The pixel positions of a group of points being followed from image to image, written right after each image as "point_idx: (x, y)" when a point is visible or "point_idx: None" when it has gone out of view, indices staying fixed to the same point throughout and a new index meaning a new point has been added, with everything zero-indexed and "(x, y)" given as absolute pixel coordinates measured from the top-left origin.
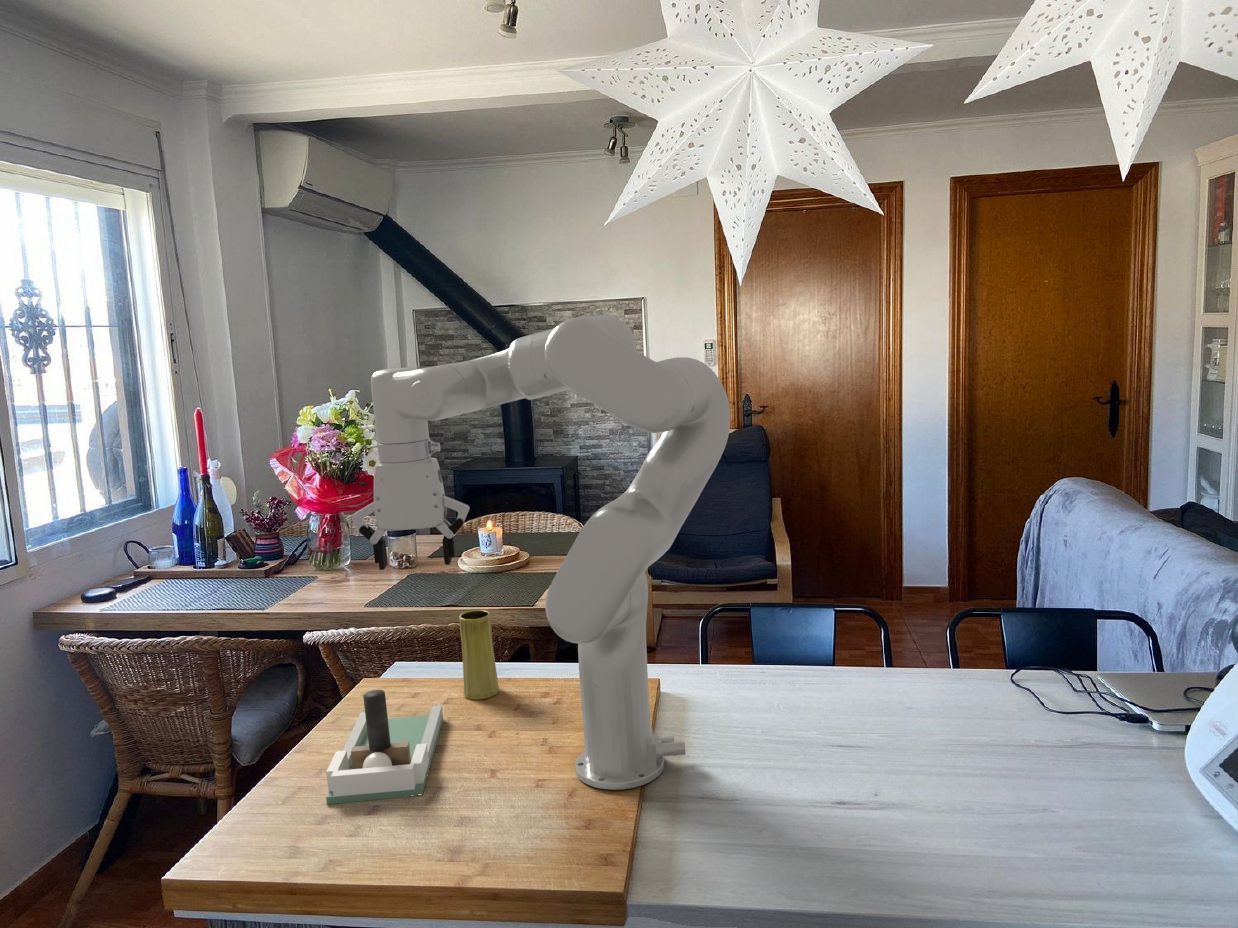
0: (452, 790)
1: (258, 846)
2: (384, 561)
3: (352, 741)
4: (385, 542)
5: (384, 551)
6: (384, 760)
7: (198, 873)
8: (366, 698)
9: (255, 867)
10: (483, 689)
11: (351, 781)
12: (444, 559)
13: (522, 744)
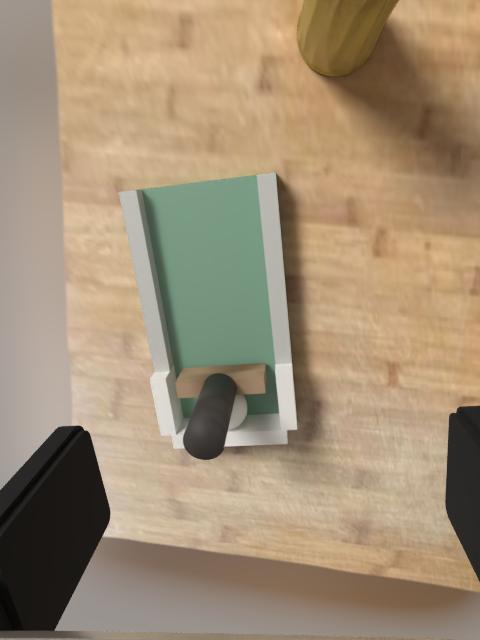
0: (337, 412)
1: (133, 496)
2: (90, 525)
3: (151, 311)
4: (6, 529)
5: (55, 542)
6: (239, 421)
7: None
8: (195, 457)
9: (150, 528)
10: (351, 66)
11: None
12: (458, 533)
13: (437, 288)
